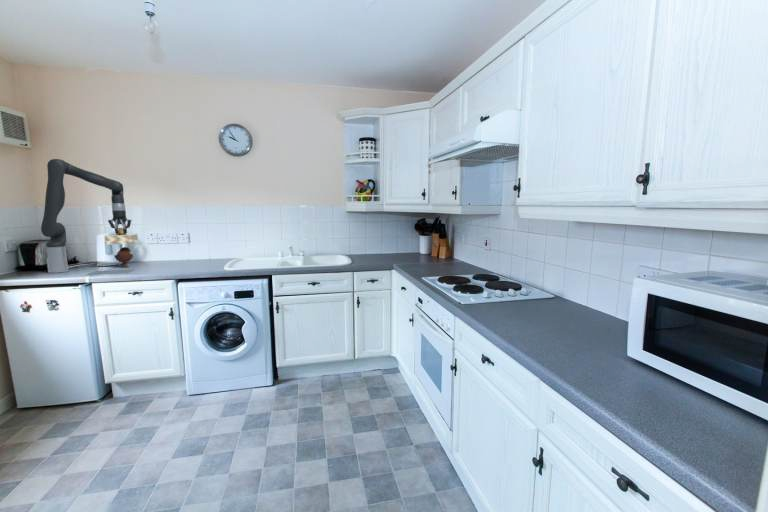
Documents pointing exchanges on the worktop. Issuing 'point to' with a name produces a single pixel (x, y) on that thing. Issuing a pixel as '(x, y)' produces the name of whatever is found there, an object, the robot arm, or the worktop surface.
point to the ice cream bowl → (124, 256)
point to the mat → (111, 272)
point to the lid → (121, 238)
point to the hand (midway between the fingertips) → (121, 233)
